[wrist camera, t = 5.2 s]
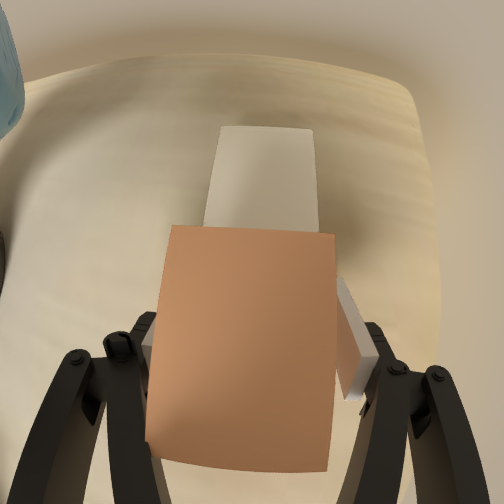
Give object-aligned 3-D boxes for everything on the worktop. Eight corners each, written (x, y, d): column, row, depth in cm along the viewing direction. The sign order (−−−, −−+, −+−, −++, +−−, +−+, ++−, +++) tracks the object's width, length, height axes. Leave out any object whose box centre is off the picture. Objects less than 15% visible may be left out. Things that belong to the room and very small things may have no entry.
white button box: (206, 295, 20) (192, 273, 16) (225, 162, 25) (219, 122, 21) (308, 301, 20) (322, 281, 16) (306, 165, 25) (314, 127, 20)
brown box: (211, 406, 17) (143, 453, 6) (220, 307, 20) (170, 225, 9) (288, 412, 17) (328, 471, 6) (294, 311, 20) (336, 233, 9)
